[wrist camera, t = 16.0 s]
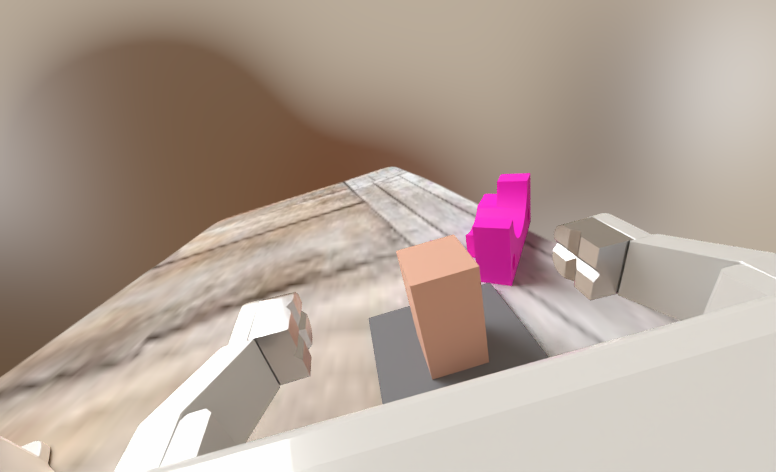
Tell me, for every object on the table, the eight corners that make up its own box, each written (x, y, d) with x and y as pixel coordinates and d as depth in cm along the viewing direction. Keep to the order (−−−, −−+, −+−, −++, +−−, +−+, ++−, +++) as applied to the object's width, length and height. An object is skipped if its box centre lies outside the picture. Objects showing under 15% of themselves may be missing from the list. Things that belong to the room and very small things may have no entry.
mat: (393, 458, 22) (390, 452, 22) (370, 323, 35) (368, 318, 34) (576, 400, 23) (577, 393, 23) (490, 288, 35) (489, 282, 35)
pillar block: (432, 379, 26) (409, 286, 21) (417, 336, 31) (396, 251, 26) (489, 362, 26) (479, 266, 22) (466, 321, 31) (453, 234, 26)
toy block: (486, 220, 49) (483, 174, 45) (530, 221, 46) (530, 173, 42) (457, 279, 38) (449, 225, 35) (511, 286, 35) (509, 228, 31)
